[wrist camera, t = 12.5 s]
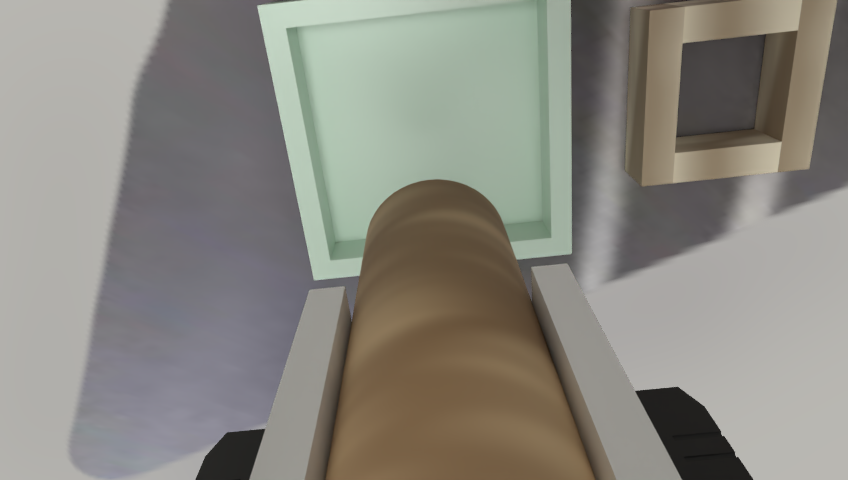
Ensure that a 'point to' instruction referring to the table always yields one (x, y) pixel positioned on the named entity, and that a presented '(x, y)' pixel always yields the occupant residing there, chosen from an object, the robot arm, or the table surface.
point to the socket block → (777, 100)
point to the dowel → (448, 353)
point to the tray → (423, 113)
